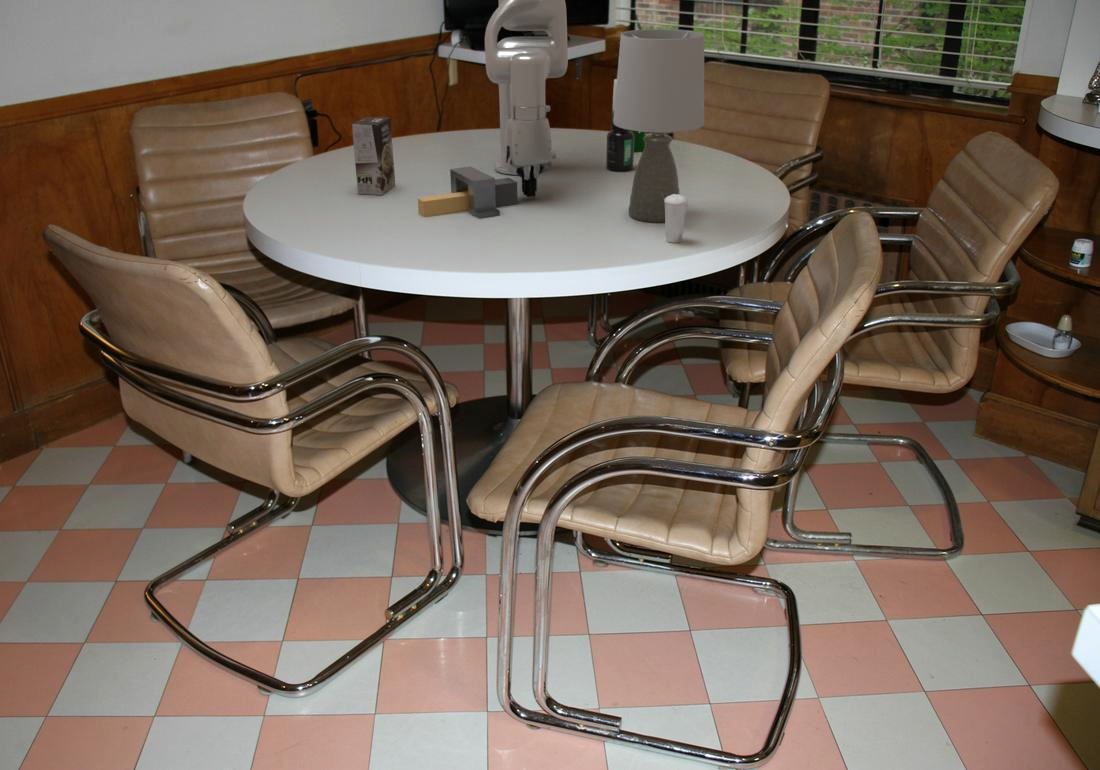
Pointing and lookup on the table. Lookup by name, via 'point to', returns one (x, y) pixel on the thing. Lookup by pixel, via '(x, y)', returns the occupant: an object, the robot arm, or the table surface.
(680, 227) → the milkshake
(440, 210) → the plug
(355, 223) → the table surface
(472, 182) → the housing
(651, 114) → the lamp
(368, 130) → the coffee box
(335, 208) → the table surface
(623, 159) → the supplement bottle
